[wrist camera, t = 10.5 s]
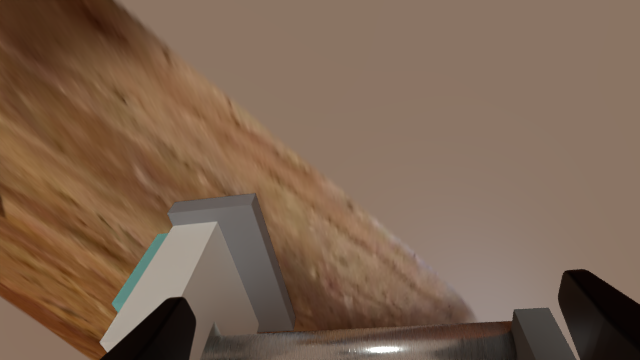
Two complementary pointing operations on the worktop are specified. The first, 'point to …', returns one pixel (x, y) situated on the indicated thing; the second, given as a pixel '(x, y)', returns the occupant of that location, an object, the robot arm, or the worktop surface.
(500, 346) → the shaft
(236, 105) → the worktop surface
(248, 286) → the bracket
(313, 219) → the worktop surface
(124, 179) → the worktop surface
